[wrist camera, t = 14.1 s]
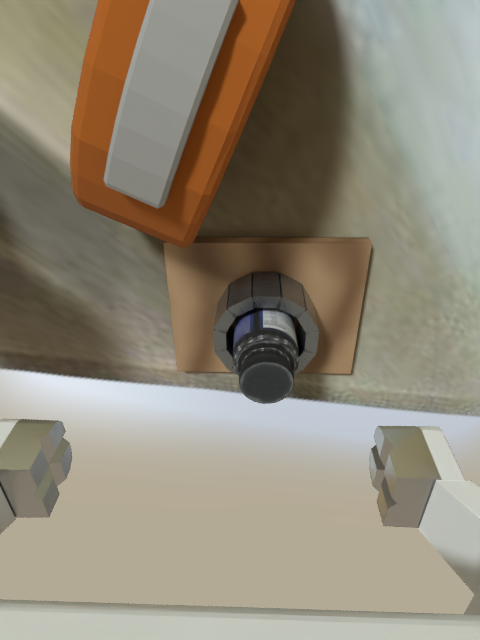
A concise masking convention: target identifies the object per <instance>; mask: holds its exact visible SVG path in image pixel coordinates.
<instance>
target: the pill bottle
mask: <svg viewBox="0 0 480 640" xmlns="http://www.w3.org/2000/svg"><path fill="white" fill-rule="evenodd" d="M232 361H233V366H234V369H235V371H236V373H237V375H238V376H239V384H240V389H241V391H242V392H243V394H244V395H245V396H246V397H247V398H249V399H251V400H253V401H255V402H258V403H263V404H265V403H275V402H278V401H280V400H283V399H284V398H286V397H287V396H288V395H289V394H290V393H291V391H292V389H293V386H294V374H295V372H296V370H297V368H298V365H299V352H298V346H297V339H296V332H295V325H294V318H293V316H292V315H291V314H289V313H287V312H285V311H283V310H281V309H279V308H254V309H252V310H250V311H248V312H246V313H243V314H241V315H239V316H237V317H236V318H235V328H234V344H233V360H232Z"/></svg>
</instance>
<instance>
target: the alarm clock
mask: <svg viewBox="0 0 480 640" xmlns="http://www.w3.org/2000/svg"><path fill="white" fill-rule="evenodd" d="M295 2H296V0H98V4H97V8H96V12H95V16H94V20H93V24H92V28H91V32H90V36H89V40H88V44H87V48H86V52H85V56H84V61H83V66H82V72H81V77H80V82H79V88H78V93H77V99H76V104H75V110H74V115H73V121H72V127H71V152H70V166H71V181H72V188H73V194H74V195H75V197H76V199H77V201H78V203H79V204H80V205H81V206H83V207H85V208H87V209H89V210H92V211H94V212H97V213H99V214H101V215H104V216H106V217H108V218H111V219H113V220H116V221H118V222H120V223H123V224H125V225H128V226H130V227H132V228H135V229H137V230H140V231H142V232H144V233H147V234H149V235H152V236H154V237H156V238H159V239H161V240H164V241H166V242H168V243H171V244H173V245H175V246H178V247H181V248H187V247H188V246H190V245H191V244H192V243H193V241H194V239H195V238H196V236H197V234H198V232H199V229H200V227H201V225H202V223H203V221H204V219H205V217H206V214H207V212H208V210H209V208H210V206H211V203H212V201H213V199H214V197H215V195H216V192H217V190H218V188H219V185H220V183H221V181H222V178H223V176H224V174H225V171H226V169H227V167H228V164H229V162H230V160H231V157H232V155H233V153H234V150H235V148H236V146H237V143H238V141H239V139H240V136H241V134H242V131H243V129H244V127H245V124H246V122H247V119H248V117H249V115H250V112H251V110H252V108H253V105H254V103H255V100H256V98H257V96H258V93H259V91H260V88H261V86H262V84H263V81H264V79H265V76H266V74H267V72H268V69H269V67H270V64H271V62H272V59H273V57H274V54H275V52H276V49H277V47H278V44H279V42H280V39H281V37H282V34H283V32H284V29H285V27H286V24H287V22H288V19H289V17H290V14H291V12H292V9H293V7H294V4H295Z"/></svg>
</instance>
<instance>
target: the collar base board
mask: <svg viewBox="0 0 480 640" xmlns="http://www.w3.org/2000/svg"><path fill="white" fill-rule="evenodd" d="M163 247H164V256H165V265H166V273H167V282H168V291H169V300H170V309H171V318H172V327H173V336H174V345H175V354H176V363H177V371H188V372H231V371H229V370H230V369H229V370H228V369H227V368H226V367H225V365H224V364H223V363H222V361H221V360H220V359H219V357H218V356H217V355H216V353H215V351H214V334H213V329H214V322H215V316H216V309H217V303H218V301H219V299H220V298H221V296H222V294H223V293H224V291H225V290H226V288H227V286H228V285H229V284H230V283H231V282H233V281H235V280H237V279H239V278H240V277H242V276H244V275H246V274H248V273H250V272H252V273H253V271H278V272H279V273H280V272H281V273H283V274H285V275H287V276H289V277H291V278H293V279H294V280H296V281H298V282H300V283H301V285H302V284H303V286H304V288H305V290H306V291H307V293H308V295H309V297H310V298H311V300H312V302H313V305H314V309H315V314H316V319H317V324H318V329H319V336H318V346H317V353H316V355H315V356H314V357H313V358H312V360H311V361H310V362H309V363H308V364H307V366H306V367H305V368H304V369H303V370H302V371H301V370H300V372H299V373H331V374H351V369H352V363H353V357H354V351H355V345H356V338H357V332H358V326H359V320H360V314H361V308H362V302H363V296H364V289H365V283H366V277H367V271H368V265H369V259H370V253H371V247H372V243H371V241H370V239H369V238H337V237H196V238H195V239H194V241H193V243H192V244H191V245H190V246H188V247H187V248H181V247H178V246H175V245H173V244H171V243H168V242H166V241H164V242H163ZM293 318H294V325H295V329H296V327H297V326H298V325H299V324H300V323H299V321H298V319H297V318H296V317H294V316H293ZM231 325H232V326H233V328H235V320H234V321H233V323H232V324H231Z"/></svg>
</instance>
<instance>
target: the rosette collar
mask: <svg viewBox="0 0 480 640" xmlns="http://www.w3.org/2000/svg"><path fill="white" fill-rule="evenodd" d="M254 308H279V309H281V310H283V311H285V312H287V313H289V314H291V315H292V316H294V317H296V318H297V319H298V321H299V323H300V324H299V325H298V326H297V327H296V329H295V332H296V339H297V346H298V352H299V365H298V368H297V370H296V372H295V374H297V373H299V372H300V370H301V371H302V370H303V369H304V368H305V367H306V366H307V364H308V363H309V362H310V361H311V360H312V358H313V357H314V356H315V355H316V353H317V346H318V336H319V329H318V324H317V319H316V314H315V309H314V305H313V302H312V300H311V298H310V297H309V295H308V293H307V291H306V290H305V288H304V286H303V284H302V285H301V283H300V282H298V281H296V280H294V279H293V278H291V277H289V276H287V275H285V274H283V273H281V272H280V273H279V272H278V271H253V273H252V272H250V273H248V274H246V275H244V276H242V277H240V278H239V279H237V280H235V281H233V282H231V283H230V284H229V285H228V286H227V288H226V290H225V291H224V293H223V294H222V296H221V298H220V299H219V301H218V303H217V309H216V316H215V322H214V329H213V334H214V351H215V353H216V355H217V356H218V357H219V359H220V360H221V361H222V363H223V364H224V365H225V367H226V368H227V369H228V370H229V369H230V370H229V371H231V372H233V373H235V374H237V373H236V371H235V369H234V366H233V361H232V360H233V344H234V328H233V326H232V325H231V324H232V323H233V321H234V320H235V318H236V317H237V316H239V315H241V314H243V313H246V312H248V311H250V310H252V309H254Z"/></svg>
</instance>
